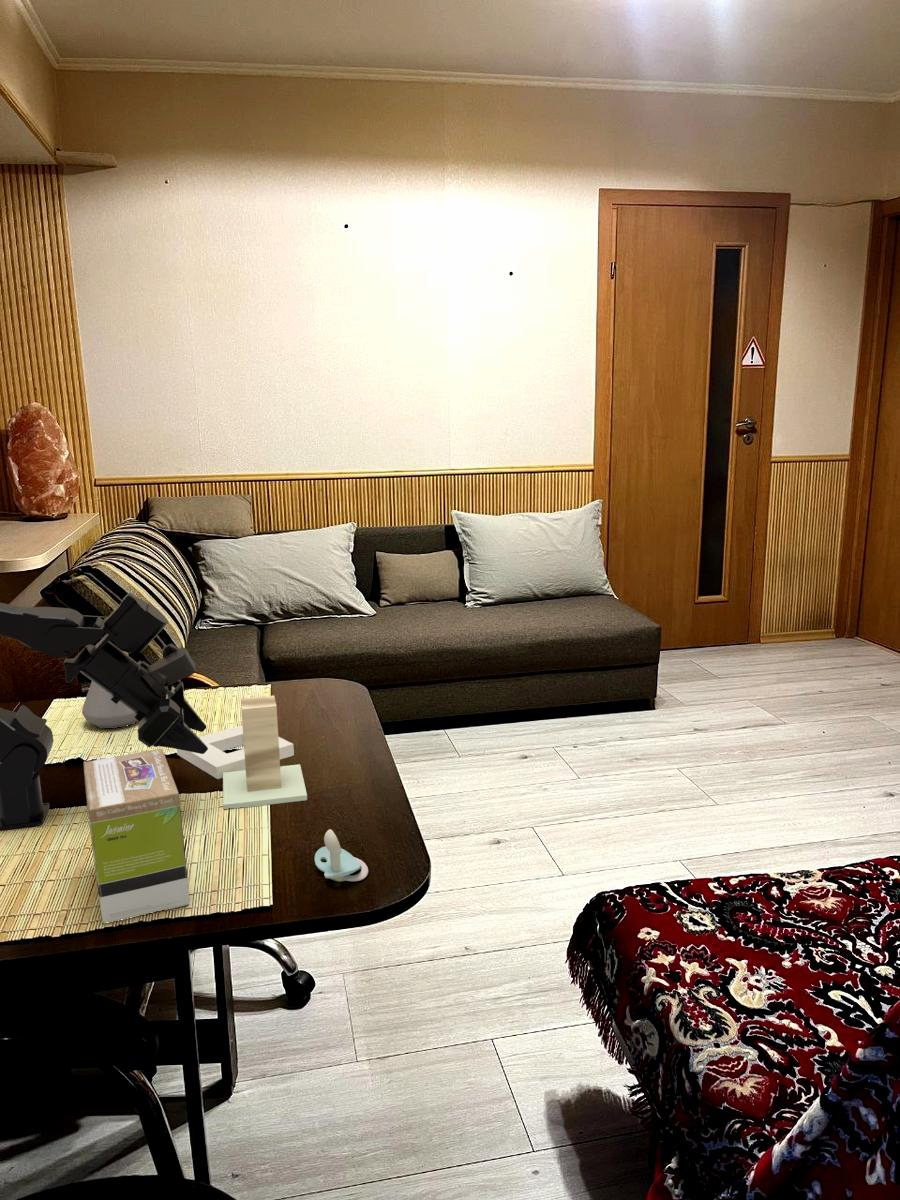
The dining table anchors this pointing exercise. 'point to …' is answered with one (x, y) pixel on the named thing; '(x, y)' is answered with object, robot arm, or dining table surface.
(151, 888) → the tea box
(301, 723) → the dining table surface
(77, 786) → the dining table surface
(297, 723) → the dining table surface
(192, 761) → the pocket holder
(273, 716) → the birch block
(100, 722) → the coffee pot
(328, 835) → the pacifier
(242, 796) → the sage mat
